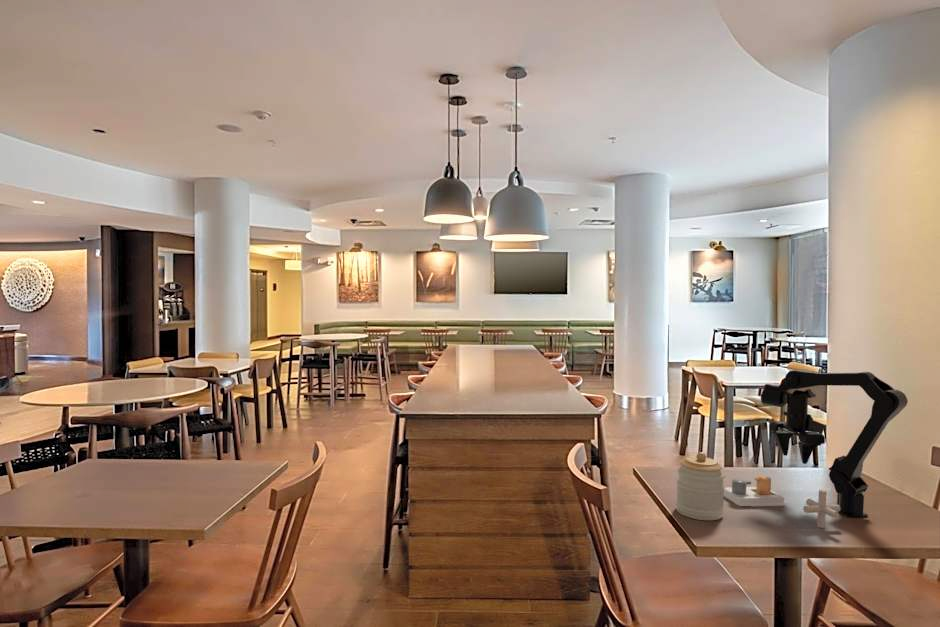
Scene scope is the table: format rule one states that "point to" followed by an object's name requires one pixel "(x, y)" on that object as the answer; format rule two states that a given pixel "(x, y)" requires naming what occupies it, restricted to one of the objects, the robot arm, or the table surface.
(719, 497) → the jar
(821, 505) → the pipe connector
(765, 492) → the orange rounded tapered piece
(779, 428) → the robot arm
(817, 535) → the table surface
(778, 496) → the housing
